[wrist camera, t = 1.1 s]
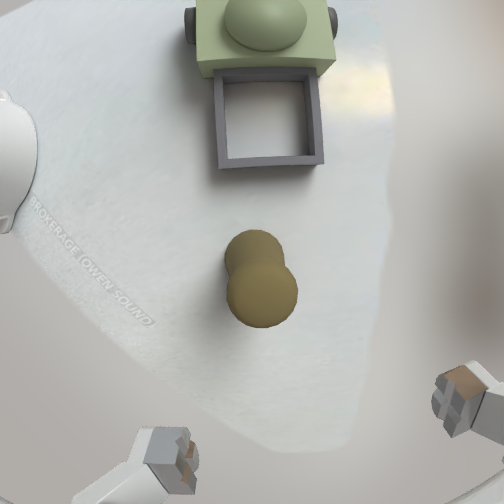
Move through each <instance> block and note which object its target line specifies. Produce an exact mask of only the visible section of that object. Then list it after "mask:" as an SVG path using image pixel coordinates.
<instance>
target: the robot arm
mask: <svg viewBox="0 0 504 504" xmlns="http://www.w3.org/2000/svg"><path fill="white" fill-rule="evenodd" d="M36 160H37V137H36V131H35V127H34V124H33V122H32V119H31V117H30V116H29V114H28V113H27V112H26V110H25V109H23V108H22V107H20V106H18V105H16V104H14V103H13V102H12V101H11V98H10V96H9V95H8V93H7V92H6V91H0V234H5V233H8V232H9V231H10V230H11V227H12V224H13V220H14V216H15V212H16V210H17V209H18V207H19V206H20V204H21V203H22V201H23V200H24V198H25V196H26V195H27V193H28V190H29V188H30V186H31V183H32V180H33V176H34V172H35V167H36ZM435 385H436V386H437V387H438V388H437V389H436V390H435V392H434V393H433V396H432V400H431V402H432V409H433V411H434V414H435V415H436V417H437V418H439V419H441V420H444V423H443V427H444V428H445V430H446V431H447V433H448V434H449V435H450V437H451V438H453V437H455V436H457V435H459V434H461V433H463V432H465V431H468V430H470V429H471V430H472V431H474V432H476V433H478V434H480V435H482V436H484V437H486V438H488V439H491V440H493V441H495V442H497V443H499V444H501V445H504V382H501V383H499V382H498V381H497V380H496V379H495V378H493V377H492V376H491V375H490V374H489V373H488V372H487V371H486V370H485V369H484V368H483V367H482V366H481V365H480V364H478V362H476V361H474V360H472V361H470V362H467V363H465V364H463V365H461V366H458V367H456V368H454V369H452V370H450V371H447V372H445V373H442V374H440V375H438V377H437V378H436V382H435ZM190 436H191V434H190V432H189V430H188V428H186V427H147V426H142V427H141V428H140V429H139V430H138V433H137V435H136V438H135V441H134V443H133V446H132V449H131V451H130V454H129V457H128V460H127V462H121V463H120V464H119V465H118V466H116V467H115V468H113V469H112V470H111V471H109V472H108V473H106V474H105V475H104V476H102V477H101V478H99V479H98V480H97V481H95V482H94V483H93V484H91V485H90V486H88V487H87V488H85V489H84V490H82V491H81V492H79V493H78V494H76V495H75V496H74V497H73V499H72V501H71V504H162V503H163V502H164V501H165V500H166V499H167V498H168V496H169V494H187V495H188V494H191V495H192V494H195V488H196V481H197V478H196V477H195V475H194V472H195V471H196V470H197V469H198V466H199V454H198V450H197V447H196V444H195V443H194V442H192V441H191V440H190ZM502 462H503V463H504V456H503V459H502ZM0 504H13V503H11V502H9V501H7V500H5V499H4V498H2V497H0ZM446 504H504V469H503V470H501V471H500V472H498V473H497V474H495V475H494V476H492V477H491V478H489V479H488V480H486V481H485V482H483V483H481V484H480V485H478V486H476V487H475V488H473V489H471V490H470V491H468V492H466V493H464V494H463V495H461V496H459V497H457V498H455V499H453V500H452V501H450V502H448V503H446Z"/></svg>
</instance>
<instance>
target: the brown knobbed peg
mask: <svg viewBox="0 0 504 504" xmlns="http://www.w3.org/2000/svg"><path fill="white" fill-rule="evenodd" d="M225 264H226V267H227V270H228V273H229V276H230V279H229V282H228V285H227V302H228V305H229V308H230V310H231V312H232V313H233V314H234V315H235V317H236V318H237V319H238V320H239V321H241V322H242V323H244V324H245V325H247V326H251V327H254V328H269V327H272V326H276V325H278V324H280V323H281V322H283V321H284V320H286V319H287V318H288V317H289V315H290V314H291V313H292V312H293V310H294V308H295V305H296V303H297V295H298V288H297V284H296V280H295V278H294V277H293V275H292V274H291V272H290V271H289V269H288V268H287V267H285V262H284V254H283V250H282V246H281V245H280V243H279V242H278V240H277V239H276V238H275V237H274V236H272V235H271V234H270V233H268V232H265V231H262V230H248V231H245V232H242V233H240V234H239V235H237V236H236V237H234V238H233V239H232V241H231V242H230V243H229V245H228V247H227V250H226V253H225Z"/></svg>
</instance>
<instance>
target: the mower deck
mask: <svg viewBox="0 0 504 504" xmlns="http://www.w3.org/2000/svg"><path fill="white" fill-rule="evenodd" d="M184 22H185V33H186V38H187V42H188V43H195V42H196V50H197V63H198V66H199V69H200V72H201V75H202V78H213V80H214V101H215V119H216V137H217V153H218V168H219V169H231V168H246V167H264V166H288V165H320V164H324V152H323V136H322V122H321V110H320V99H319V89H318V79H317V76H322V75H323V73H324V72H325V71H326V70H327V69H328V68H329V67H330V66H331V65H332V64H333V63H334V62H335V61H336V55H335V48H334V41H333V40H334V39H335V37H336V34H337V28H338V19H337V14H336V11H335V9H334V8H331V7H327V2H326V0H196V7H193V8H186V9H185V14H184ZM243 82H303V85H304V96H305V108H306V120H307V134H308V149H309V156H277V157H255V158H239V159H228V157H227V141H226V125H225V107H224V89H223V84H227V83H243Z"/></svg>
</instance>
